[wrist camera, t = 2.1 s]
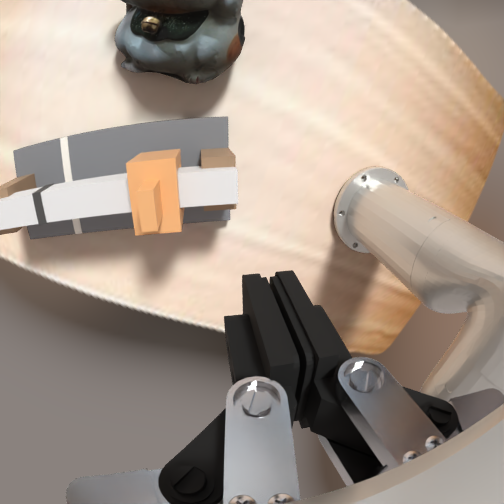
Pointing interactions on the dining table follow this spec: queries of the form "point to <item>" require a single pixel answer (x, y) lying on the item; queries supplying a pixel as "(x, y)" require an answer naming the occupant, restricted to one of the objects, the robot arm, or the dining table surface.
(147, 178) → the orange stepped block
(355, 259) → the dining table surface
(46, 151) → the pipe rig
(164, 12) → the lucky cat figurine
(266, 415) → the robot arm
